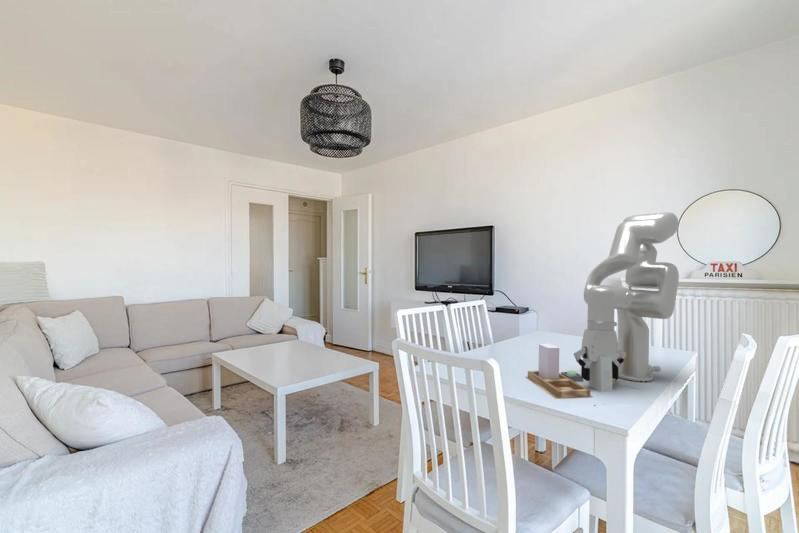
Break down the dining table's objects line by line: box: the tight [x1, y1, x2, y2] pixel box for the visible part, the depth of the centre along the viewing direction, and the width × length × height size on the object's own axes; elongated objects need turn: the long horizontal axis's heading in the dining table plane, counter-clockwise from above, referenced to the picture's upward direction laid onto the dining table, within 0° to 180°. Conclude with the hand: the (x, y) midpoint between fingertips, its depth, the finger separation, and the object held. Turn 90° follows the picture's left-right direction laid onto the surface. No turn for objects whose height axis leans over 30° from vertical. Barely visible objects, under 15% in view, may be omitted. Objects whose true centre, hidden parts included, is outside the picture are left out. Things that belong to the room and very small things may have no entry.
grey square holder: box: [560, 371, 584, 383], centre depth 126 cm, size 5×5×3 cm
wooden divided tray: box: [525, 370, 594, 400], centre depth 119 cm, size 12×20×3 cm, turn 6°
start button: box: [566, 370, 578, 376], centre depth 126 cm, size 3×3×2 cm
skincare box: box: [587, 356, 613, 393], centre depth 117 cm, size 6×4×12 cm
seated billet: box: [538, 343, 560, 379], centre depth 124 cm, size 4×6×12 cm, turn 6°
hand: (599, 378), depth 117 cm, fingers open, 9 cm apart
